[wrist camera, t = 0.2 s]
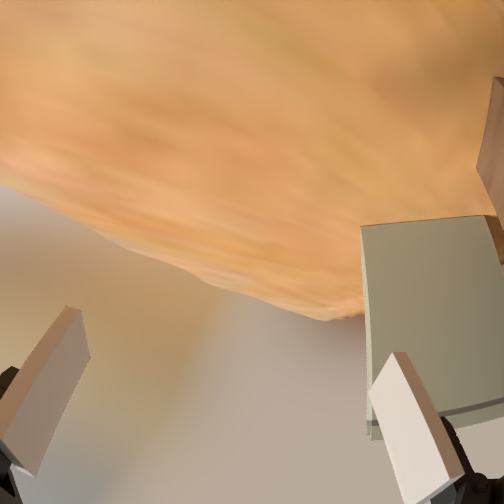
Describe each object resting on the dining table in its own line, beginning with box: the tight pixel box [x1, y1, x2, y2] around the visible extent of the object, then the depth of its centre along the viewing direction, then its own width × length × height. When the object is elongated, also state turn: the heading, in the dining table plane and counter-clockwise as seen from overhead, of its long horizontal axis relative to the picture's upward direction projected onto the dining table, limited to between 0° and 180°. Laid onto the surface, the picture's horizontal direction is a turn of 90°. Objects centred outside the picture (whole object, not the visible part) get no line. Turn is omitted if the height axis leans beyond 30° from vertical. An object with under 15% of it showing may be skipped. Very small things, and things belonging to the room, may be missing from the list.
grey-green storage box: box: [361, 215, 504, 441], centre depth 25 cm, size 14×9×20 cm, turn 108°
